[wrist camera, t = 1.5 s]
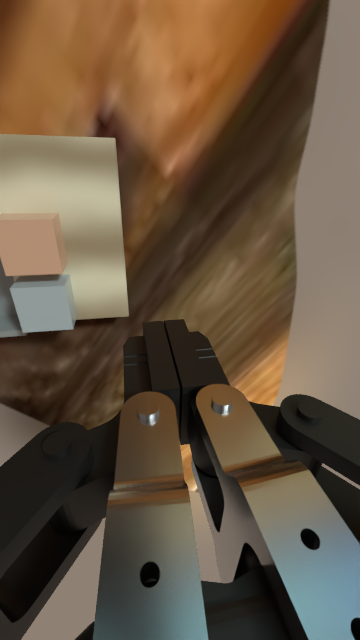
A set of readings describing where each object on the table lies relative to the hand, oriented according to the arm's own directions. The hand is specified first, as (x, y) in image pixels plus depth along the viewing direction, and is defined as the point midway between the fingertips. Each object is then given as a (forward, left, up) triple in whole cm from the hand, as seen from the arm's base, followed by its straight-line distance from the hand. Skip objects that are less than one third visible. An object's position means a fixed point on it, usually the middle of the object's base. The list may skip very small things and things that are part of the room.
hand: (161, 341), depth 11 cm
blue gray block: (+5, -8, -16) cm, 18 cm away
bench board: (0, -6, -19) cm, 20 cm away
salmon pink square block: (0, -8, -16) cm, 18 cm away
